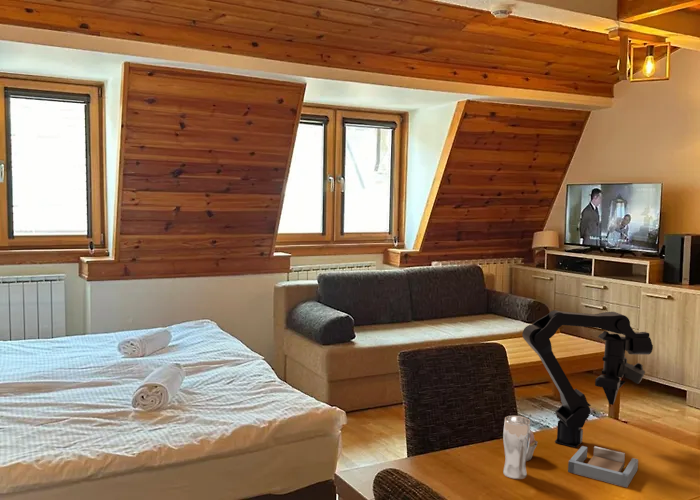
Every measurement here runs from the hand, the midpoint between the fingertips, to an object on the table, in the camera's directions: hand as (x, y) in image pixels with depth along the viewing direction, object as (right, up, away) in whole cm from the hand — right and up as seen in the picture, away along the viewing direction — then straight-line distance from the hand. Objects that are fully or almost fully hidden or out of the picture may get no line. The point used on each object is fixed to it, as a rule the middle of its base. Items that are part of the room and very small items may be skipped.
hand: (611, 404), depth 191 cm
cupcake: (-31, -12, -11) cm, 35 cm away
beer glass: (-36, -13, -23) cm, 44 cm away
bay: (-10, -13, -19) cm, 25 cm away
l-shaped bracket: (-10, -13, -19) cm, 25 cm away
